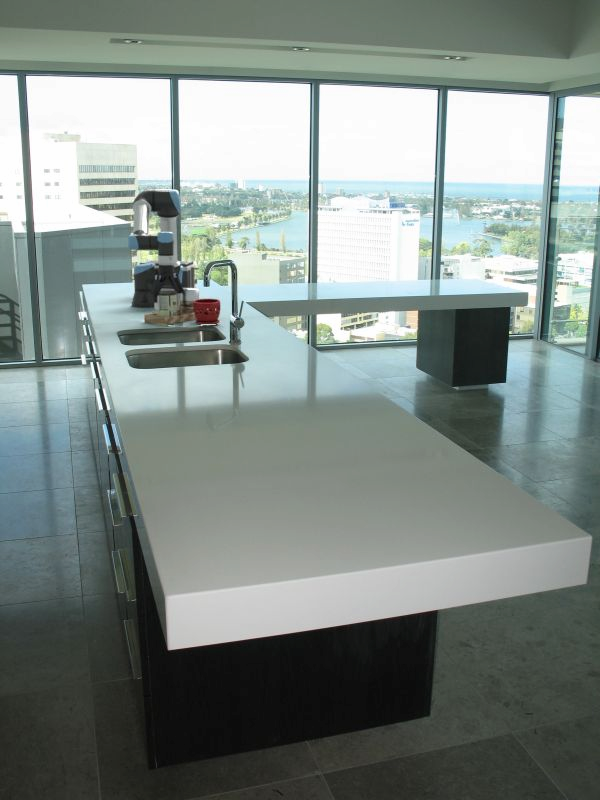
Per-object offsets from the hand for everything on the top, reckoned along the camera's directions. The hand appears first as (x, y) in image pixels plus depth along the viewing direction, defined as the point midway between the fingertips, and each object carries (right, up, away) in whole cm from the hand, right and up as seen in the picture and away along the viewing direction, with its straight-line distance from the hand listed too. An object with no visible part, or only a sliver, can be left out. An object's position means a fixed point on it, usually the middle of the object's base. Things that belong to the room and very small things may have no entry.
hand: (167, 307), depth 410 cm
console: (-4, -3, +17) cm, 18 cm away
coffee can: (0, -6, +1) cm, 6 cm away
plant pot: (+20, -9, -3) cm, 22 cm away
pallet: (+4, -5, +7) cm, 10 cm away
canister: (+9, -3, +13) cm, 16 cm away
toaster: (-12, +15, +87) cm, 89 cm away
